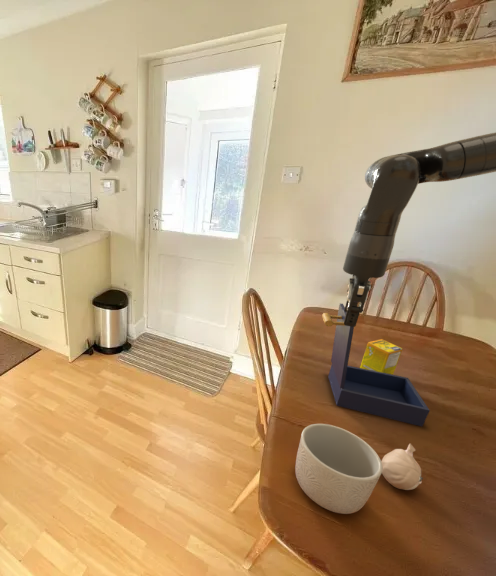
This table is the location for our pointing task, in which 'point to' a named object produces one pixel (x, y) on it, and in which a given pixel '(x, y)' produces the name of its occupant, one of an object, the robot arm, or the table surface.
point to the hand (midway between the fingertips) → (349, 318)
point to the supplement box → (381, 356)
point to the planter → (336, 468)
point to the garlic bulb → (402, 469)
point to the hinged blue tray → (379, 395)
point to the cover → (340, 343)
